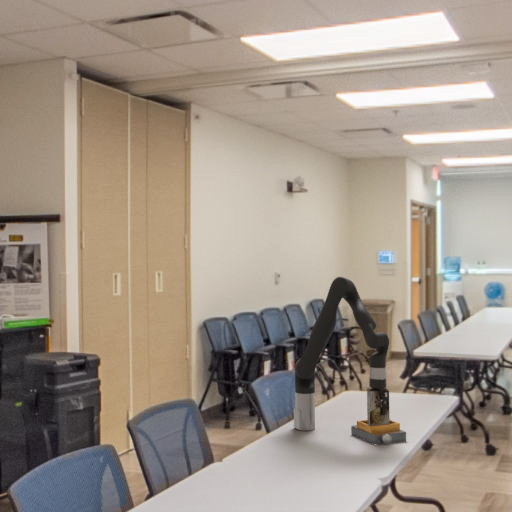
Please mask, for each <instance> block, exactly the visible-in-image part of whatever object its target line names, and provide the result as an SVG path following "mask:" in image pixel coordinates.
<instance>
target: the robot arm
mask: <svg viewBox="0 0 512 512" xmlns="http://www.w3.org/2000/svg"><path fill="white" fill-rule="evenodd" d="M342 299H343V300H344V301H345V302H347V304H348V305H349V307H350V308H351V311H352V314H353V317H354V320H355V322H356V324H357V325H358V327H359V328H360V329H361V331H362V335H363V338H364V342H365V344H366V345H367V346H368V347H369V348H370V349H373V350H375V351H374V353H372V354H370V355H369V373H368V374H369V377H368V379H369V380H368V381H369V383H368V384H369V385H368V386H369V387H368V388H372V389H375V390H378V391H379V397H381V396H382V399H383V400H380V399H379V397H378V403H380V406H381V407H380V415H382V416H383V415H385V413H386V410H385V408H386V406H389V407H390V393H389V394H388V393H385V392H384V388H387V369H386V367H387V366H386V364H387V363H386V362H387V360H386V359H387V355H388V351H389V346H390V337H389V336H388V334H387V333H386V332H383V331H380V332H375V329H376V328H377V323H376V322H375V320H374V318H373V316H371V315H372V314H370V312H369V311H368V309H367V308H366V306H365V304H364V303H363V301H362V298H361V297H360V294H359V291H358V289H357V287H356V285H355V283H354V282H353V281H352V280H350V279H349V278H347V277H344V276H336V278H334V279H333V280H332V282H331V284H330V287H329V289H328V292H327V296H326V298H325V301H324V303H323V306H322V308H321V310H320V312H319V314H318V317H317V318H316V320H315V323H314V325H313V327H312V329H311V332H310V335H309V339H308V342H307V346H306V348H305V350H304V352H303V354H302V356H301V357H300V358H298V359H297V361H296V362H295V365H294V387H295V390H294V391H295V392H294V394H295V395H294V396H295V399H294V400H295V403H294V404H295V405H294V408H293V428H294V427H295V428H296V429H295V428H294V429H295V430H297V429H298V430H297V431H299V430H300V431H306V430H307V431H312V430H313V429H314V430H315V429H316V398H315V396H316V393H315V392H316V390H315V389H316V386H315V371H316V367H317V365H318V362H319V359H320V357H321V355H322V354H323V351H324V349H325V347H326V346H327V344H328V343H329V340H330V339H331V337H332V334H333V333H334V330H335V328H336V325H337V313H338V308H339V305H340V302H341V301H342ZM385 401H386V402H385ZM382 402H383V404H382Z"/></svg>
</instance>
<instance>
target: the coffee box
mask: <svg viewBox="0 0 512 512" xmlns="http://www.w3.org/2000/svg"><path fill="white" fill-rule="evenodd" d="M384 392H385V393H388V394H389V395H390V390H389V389H388V388H387V387H386V388H384ZM378 397H379V391H378V390H375V389H372V388H370V387H368V388H366V400H367V401H366V414H367V415H366V416H367V417H366V418H367V419H366V420H367V424H368V425H371V426H376V425H384V424H390V420H391V419H390V405H389V406H386V408H385V410H386V413H385V415H383V416H382V415H380V407H381V406H380V403H378ZM379 399H380V400H383V399H382V396H381V397H379ZM385 402H386V401H385ZM382 404H383V402H382Z"/></svg>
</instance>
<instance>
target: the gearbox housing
mask: <svg viewBox="0 0 512 512" xmlns="http://www.w3.org/2000/svg"><path fill="white" fill-rule="evenodd" d="M350 430H351V432H350V433H351V434H352V436H354V435H355V436H354V437H356V436H357V437H356V438H358V437H359V438H358V439H360V438H361V439H360V440H363V439H364V440H363V441H365V440H366V442H367V441H368V443H369V442H370V444H372V443H373V444H372V445H374V444H378V445H385V444H384V443H386V445H389V444H391V443H392V444H394V443H400V442H402V443H403V442H406V441H407V432H406V431H404V430H403V429H402V430H401V423H400V422H397V421H395V420H393V419H390V424H384V425H376V426H371V425H368V424H367V419H362V420H357V421H356V424H355V425H351V429H350ZM393 442H394V443H393Z"/></svg>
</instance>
